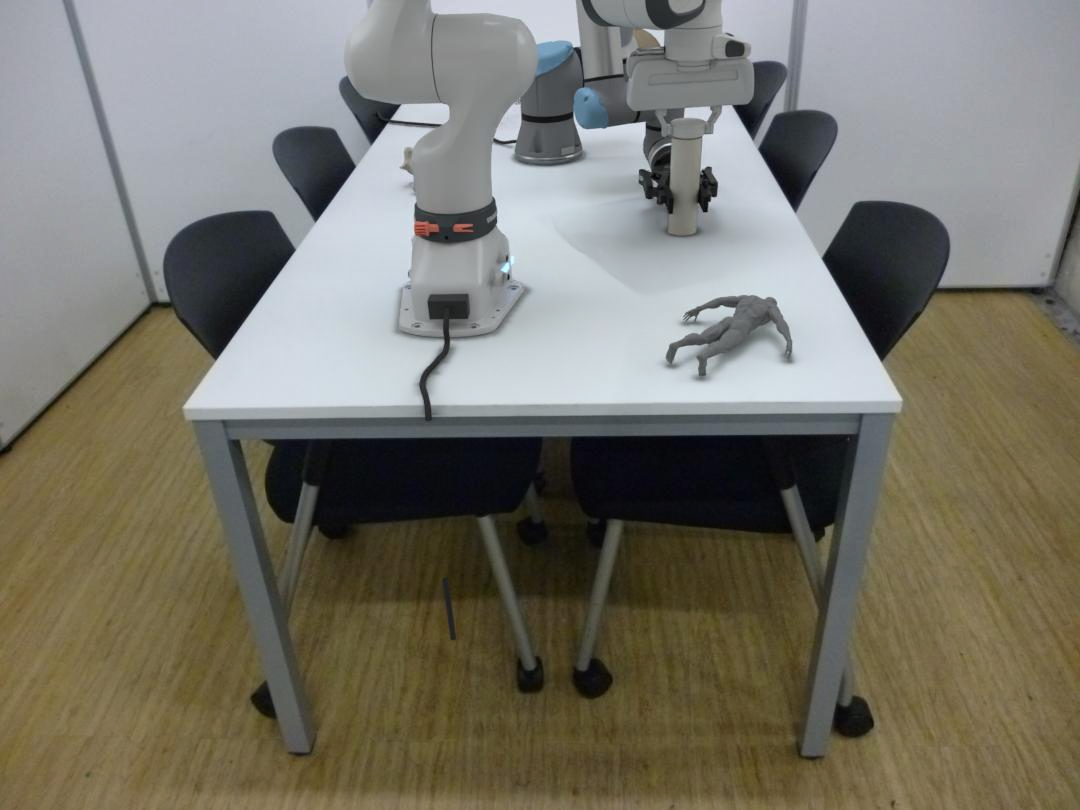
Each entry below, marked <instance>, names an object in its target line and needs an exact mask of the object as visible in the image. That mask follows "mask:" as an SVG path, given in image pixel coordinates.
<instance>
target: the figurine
mask: <svg viewBox="0 0 1080 810" xmlns="http://www.w3.org/2000/svg"><path fill="white" fill-rule="evenodd" d="M721 306H723V307H725V308H729V309H734V313H733V314H732V316H730V315H729V316H725V317H724V318H722V319H721V320H720V321H718V322H717V323H716V324H713V325H710V326H708V327H707V328H705V329H704V330H703V331H702V332H701V333H697V332H691V333H688V334H686V335H685V336H684V337H682V338H681V339H679V340H677V341H675V342H670V344H669V345H668V350H667V351H666V354H665V361H666V362H668V363H669V364H670V365H673V362H674V360H675V356H676V354H677V352H678V350H679V349H680V348H683V347H691V346H693V347H694V346H699V347H701V346H703V345H708V349H706V351H704V352H701V353H698V354H697V355H696V359H697V361H698V367H697V373H698V377H704V376H706V375H707V366H708V359H710V358H713V357H715V356H718V355H721V354H725V353H726V352H729V351H731V350H732V349H734V348H735V347H738V346H739V345H741V343H742V342H743V341H744V340H745V339H746V338H747V336H748V335H749V334H750V333H751V332H753V331H755V330H756V329H757V328H758V327H762V326H765V325H767V324H769V323H773V324H775V328H776V331H777V332H778V334H781V336H783V338H784V340H785V341H786V345H785V348H786V349H785V351H784V356H787V358H786V359H787V361H789V360H790V358H791V355H792V353H793V339H792V336H791V331H790V327H789V324H788V323H787V321H786V320H785V319H784V316H783V314H782V312H781V310H780V308H779V306H778V301H777V300H776V299H775V297H773V296H767V297H765V298H762V297H760V296H758V295H755V294H751V295H747V294H739V295H738V296H736V295H729V296H720V297H716V298H714V299H712V300H710V301H708V302H705V303H703V304H701V305H699V306H696V307H694V308H691V309H690V310H688V311H686V312H684V315H683V316H682V317H683V319H682V320H683V321H684V322H685V323H686V322H688V321H689V320H690V319H691V318H692V317H694V320H693V322H694V323H696V322H697V318H698V316H699V315H700V313H701V312H702V311H705V310H708V309H711V310H714V309H718V308H720V307H721Z"/></svg>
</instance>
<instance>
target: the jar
mask: <svg viewBox="0 0 1080 810" xmlns="http://www.w3.org/2000/svg"><path fill="white" fill-rule="evenodd" d="M703 136H704V135H703ZM703 136H701V137H697V138H677V137H674V136H672V141H671V164H670V187H669V188H670V190H671V193H672V195H673V197H674V204H673V214H668V213H667V232H668V234H671V235H673V236H678V237H686V236H692V235H694V234H696V233H697V231H698V228H697V227H698V215H699V203H698V201H699V185H700V171H702V169H701V168H702V155H703V153H702V151H703Z"/></svg>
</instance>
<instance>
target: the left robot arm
mask: <svg viewBox="0 0 1080 810" xmlns="http://www.w3.org/2000/svg"><path fill="white" fill-rule="evenodd" d="M722 3H723V0H582V4H583V7H584V10H585V12H586V14H587V15H588V17H589V18H590V19H591V20H592V21H593V22H594V23H595V24H597V25H599V26H603V27H622V26H623V27H631V28H638V29H643V30H650V31H652V30H653V31H664V33H663V34H664V35H663V46H661V47H652V48H637V49H636V51H634V52H632V53H631V54H630V55H629V56H628V58H627V61H626V73H627V75H628V77H629V79H628V86H627V97H626V101H627V104H628V106H629V107H630V108H631V109H632V110H633V111H646V110H655V114H656V116H657V118H658V119H659V121H660V123H661V125H662V130H661V134H662V136H663V137H672V130H673V126H672V125H671V124H667V123H666V122H665V120H664V118H663V116H666V114H667V109H678V108H685V109H690V108H691V109H693V108H707V107H709V110H710V111H711V113H710V115H709V117H708V119H707V120H704V121H705V134H704V135H713V134H714V129H715V124H716V123H717V121H718V119H719V118H720V116H721V114H722V112H723V107H724V106H738V105H741V106H742V105H748V104H749V103H751V101H752V99H753V98H754V94H755V68H754V64H753V62H752V60H751V59H750V58H748V57H750V56H751V53H752V44H751V43H750V42H749V41H748V40H746V39H745V38H742V37H740V36H737V35H735V34H733V33H730V32H723V23H724V22H723V16H722V5H723V4H722ZM536 44H537V42H536V40H535V37H534V35H533V32H532V31H531V30H530V28H529V27H528V25H527V24H526V23H525V22H524V21H523V20H522V19H520V18H515V17H511V16H508V15H507V16H506V15H501V14H495V13H490V12H475V13H473V12H472V13H445V14H444V13H442V14H441V13H435V12H434V11H433V9H432V0H373V1H372V3H371V5H370V6H369V8H368V10H367V11H366V13H365V14H364V16H363V17H362V18H361V19H360V20H359V21H358V22H357V23H356V24H355V25H354V26H353V28H351V30H350V32H349V34H348V35H347V37H346V41H345V45H344V50H343V62H344V69H345V72H346V76H347V78H348V80H349V82H350V84H351V85H352V87H353V88H354V89H355V91H356V92H357V93H358V94H359V95H360V96H361V97H362V98H364V99H367V100H371V101H376V102H381V103H388V104H392V105H422V104H423V105H425V104H427V105H428V104H442V105H446V106H448V109H449V117H448V120H447V121H446V122H445V123H443V125H441V126H439V127H434V128H433V129H432V130H430V131H429V132H427V133H426V134H424V135H423V136H421V137H420V138H419V139H418V141H416V143H415V144H414V146H413V151H412V157H411V161H412V169H413V175H412V176H413V184H414V186H415V192H414V194H415V199H416V202H415V203H414V209H413V210H414V211H413V222H414V223H413V232H414V235H413V236H412V237H411V246H412V247H411V248H412V250H411V262H410V263H411V266H410V269H408V271H407V277H408V278H409V279H410V280H408V281H405V282H404V283H403V284H402V292H401V299H400V308H399V309H400V310H399V318H398V329H399V331H401V332H403V333H406V334H410V335H415V336H421V337H422V336H423V337H434V338H435V337H437V338H443V347H442V350H441V351H440V353H439V354H437V356H436V357H435V358H434V359H433V361H432V362H430V364H429V365H428V366H427V367H426V368H425V369H424V370H423V371H422V374H421V376H420V379H419V382H418V383H419V384H418V386H419V392H420V394H421V397H422V400H423V408H424V420H425V422H431V421H432V420H433V415H432V404H431V399H430V394H429V391H428V389H427V380H428V377H429V376H430V374H432V372H433V371H434V370H435V369H436V368H437V367H438V366H439V364H440V363H441V362H442V361H443V360H444V359H445V358H446V357H447V356H448V353H449V351H450V346H451V338H458V337H459V338H460V337H473V336H479V335H484V334H489V333H492V332H494V331H496V330H497V328H498V327H499V326H500V324H502V322H503V320H504V319H505V318H506V316H507V315H508V314H509V312H510V311H511V309H512V308H513V307H514V306H515V304H516V303H517V301H518V300H519V298H520V297H522V295H523V293H524V292H525V287H524V283H523V282H522V281H519V280H517V279H514V277H513V268H512V265H513V264H514V262H515V256H514V255H511V249H510V241H509V238H508V237H507V236H506V235H505V234H504V233H503V232H502V231H501V230H500V228H499V227H498V225H497V224H498V206H497V201H496V198H495V196H493V185H492V183H493V182H492V152H493V144H494V141H493V140H494V138H495V136H496V133H497V129H498V127H499V125H500V123H501V122H502V119H503V118H504V116H505V115H506V113H507V112H508V111H509V110H510V109H511V107H512V106H513V105H514V104H515V103H516V102H518V100H520V97H522V96H523V95H524V94H525V93H526V92H527V90H528V89H529V88H530V86H531V85H532V83H533V81H534V79H535V76H536V73H537V68H538V50H537V45H536ZM634 54H636V55H637V56H632V55H634ZM704 135H703V136H704ZM414 186H413V187H414ZM441 581H442V588H443V596H444V602H445V611H446V616H447V625H448V631H449V638H450V640H451V641H455V640H457V633H456V627H455V619H454V610H453V606H452V605H453V603H452V596H451V591H450V590H451V589H450V583H449V576H446V577H443V578H441Z"/></svg>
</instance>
